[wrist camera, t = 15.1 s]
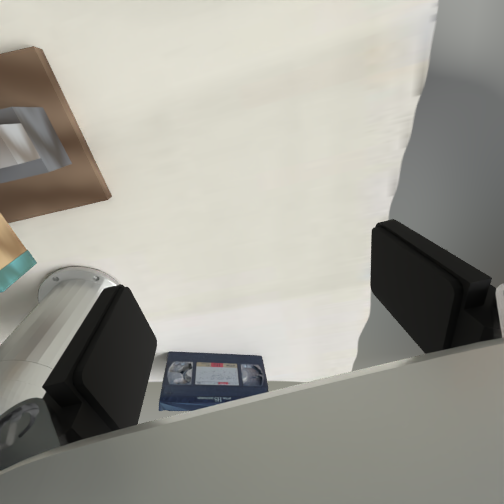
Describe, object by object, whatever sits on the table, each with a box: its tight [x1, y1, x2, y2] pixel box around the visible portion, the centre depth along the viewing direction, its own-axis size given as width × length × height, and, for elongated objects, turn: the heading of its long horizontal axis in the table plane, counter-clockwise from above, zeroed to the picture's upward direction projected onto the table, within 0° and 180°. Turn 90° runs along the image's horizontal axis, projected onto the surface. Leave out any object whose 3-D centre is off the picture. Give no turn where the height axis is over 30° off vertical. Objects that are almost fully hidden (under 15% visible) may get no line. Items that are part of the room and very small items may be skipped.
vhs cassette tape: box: [159, 352, 268, 411], centre depth 48 cm, size 18×3×10 cm, turn 77°
